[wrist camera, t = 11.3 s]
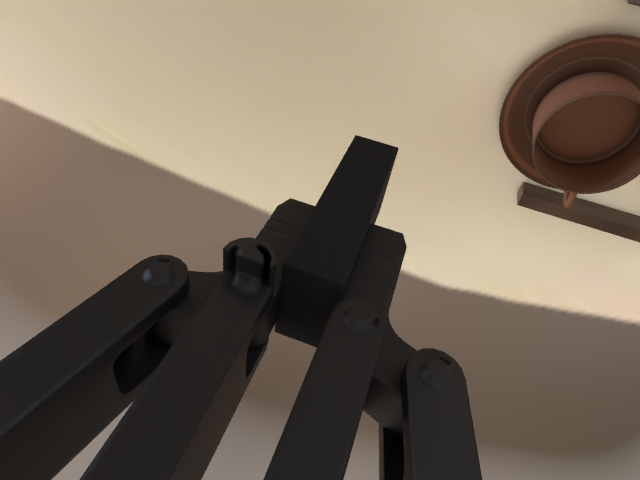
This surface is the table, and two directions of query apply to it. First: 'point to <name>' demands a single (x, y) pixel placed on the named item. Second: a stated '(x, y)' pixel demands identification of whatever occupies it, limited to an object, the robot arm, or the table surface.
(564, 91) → the cup and saucer
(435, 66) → the table surface
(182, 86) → the table surface
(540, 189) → the bay
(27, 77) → the table surface
